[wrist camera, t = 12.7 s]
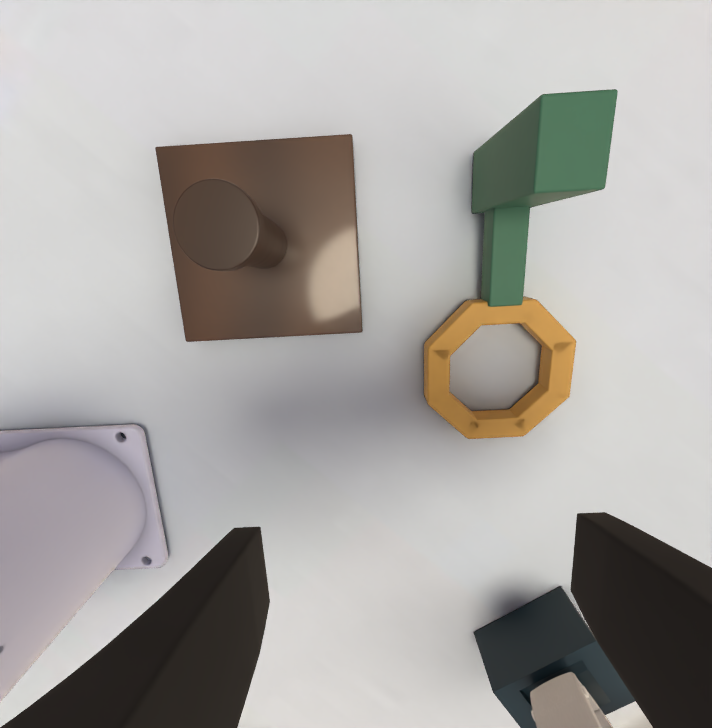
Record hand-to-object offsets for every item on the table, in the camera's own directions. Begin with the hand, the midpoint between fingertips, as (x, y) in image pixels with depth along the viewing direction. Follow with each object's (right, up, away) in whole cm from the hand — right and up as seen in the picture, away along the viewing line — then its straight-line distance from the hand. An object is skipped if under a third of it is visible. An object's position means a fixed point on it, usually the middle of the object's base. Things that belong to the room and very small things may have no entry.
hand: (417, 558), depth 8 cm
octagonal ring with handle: (+5, +7, +9) cm, 12 cm away
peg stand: (-5, +10, +8) cm, 14 cm away
